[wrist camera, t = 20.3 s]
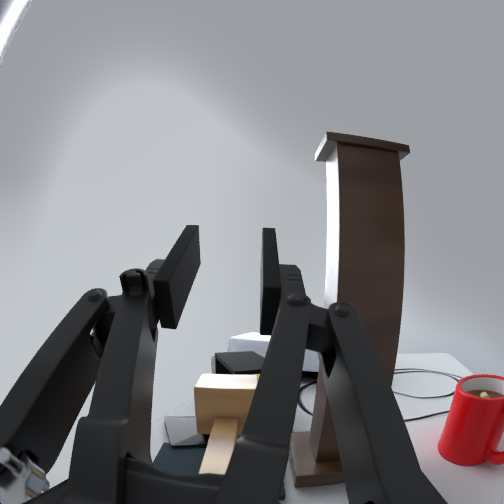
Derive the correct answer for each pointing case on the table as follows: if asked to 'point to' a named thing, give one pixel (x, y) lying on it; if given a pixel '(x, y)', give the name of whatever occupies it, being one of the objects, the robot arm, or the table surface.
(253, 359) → the figurine character
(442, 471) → the table surface
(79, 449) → the robot arm
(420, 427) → the table surface
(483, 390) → the mug
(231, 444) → the wooden toy mallet
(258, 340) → the skincare box
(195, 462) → the mat
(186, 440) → the black angular block
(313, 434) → the stand
